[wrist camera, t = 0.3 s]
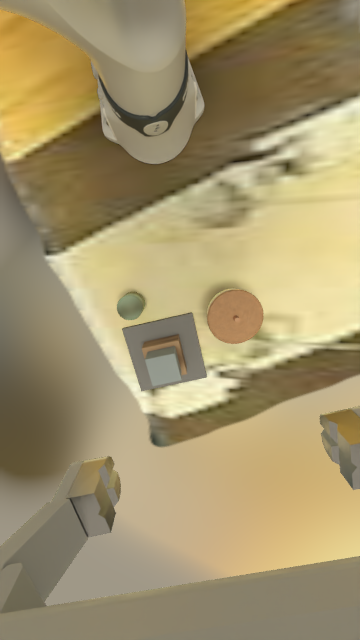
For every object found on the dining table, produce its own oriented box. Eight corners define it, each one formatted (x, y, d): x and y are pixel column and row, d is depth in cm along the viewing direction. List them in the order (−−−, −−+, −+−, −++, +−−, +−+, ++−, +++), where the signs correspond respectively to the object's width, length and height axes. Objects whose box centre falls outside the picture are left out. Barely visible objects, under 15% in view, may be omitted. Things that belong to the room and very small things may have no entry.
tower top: (147, 351, 53) (144, 359, 49) (174, 345, 52) (174, 353, 49) (154, 376, 54) (152, 386, 51) (181, 370, 54) (181, 380, 50)
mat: (122, 328, 56) (122, 329, 56) (191, 312, 55) (192, 313, 55) (141, 389, 61) (141, 391, 60) (206, 375, 60) (206, 377, 59)
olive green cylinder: (119, 294, 54) (113, 299, 50) (141, 289, 54) (138, 293, 49) (126, 316, 56) (121, 322, 51) (147, 311, 55) (144, 317, 51)
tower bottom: (144, 341, 56) (141, 348, 53) (178, 334, 56) (178, 340, 52) (153, 372, 59) (151, 381, 55) (186, 365, 58) (186, 374, 54)
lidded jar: (244, 335, 57) (257, 351, 48) (199, 326, 56) (202, 341, 47) (258, 290, 54) (274, 298, 45) (210, 279, 54) (216, 285, 45)
